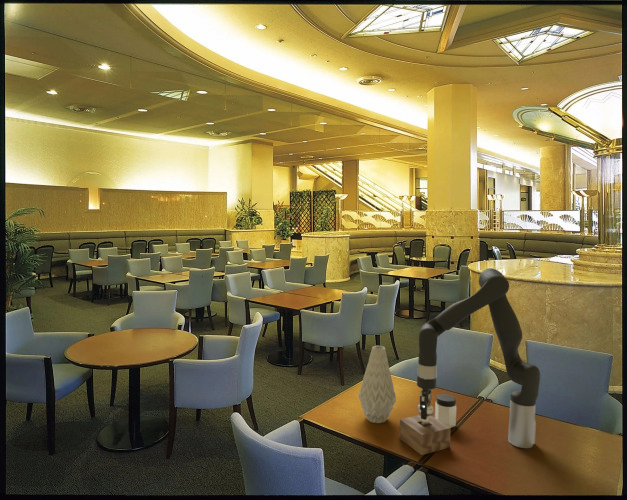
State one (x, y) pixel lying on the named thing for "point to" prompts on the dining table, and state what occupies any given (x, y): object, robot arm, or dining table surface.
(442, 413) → the jar
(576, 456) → the dining table surface
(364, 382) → the vase
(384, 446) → the dining table surface
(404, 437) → the pin block
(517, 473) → the dining table surface
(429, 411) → the pin
